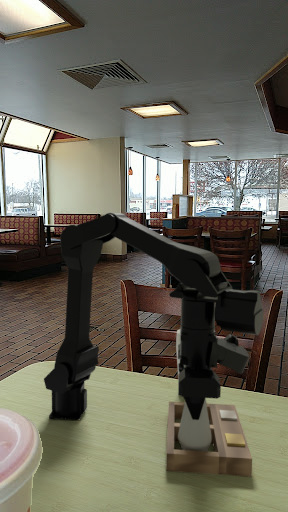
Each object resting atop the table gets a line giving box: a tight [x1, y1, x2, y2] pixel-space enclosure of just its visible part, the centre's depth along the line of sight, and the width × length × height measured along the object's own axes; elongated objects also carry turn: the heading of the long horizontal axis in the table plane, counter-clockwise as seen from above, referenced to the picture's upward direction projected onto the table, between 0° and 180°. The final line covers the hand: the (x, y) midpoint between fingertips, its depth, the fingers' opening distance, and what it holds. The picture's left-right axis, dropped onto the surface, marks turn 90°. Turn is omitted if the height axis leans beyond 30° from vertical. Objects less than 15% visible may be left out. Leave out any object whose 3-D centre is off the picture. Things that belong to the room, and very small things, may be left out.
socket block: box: [165, 401, 253, 478], centre depth 69 cm, size 14×18×3 cm
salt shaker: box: [178, 398, 212, 451], centre depth 65 cm, size 6×6×13 cm
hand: (195, 413), depth 65 cm, fingers closed on salt shaker, 3 cm apart
